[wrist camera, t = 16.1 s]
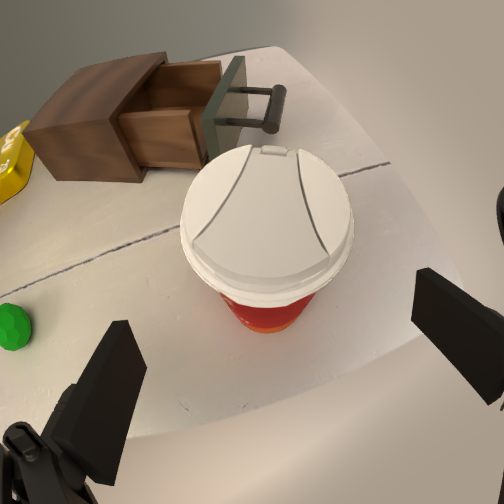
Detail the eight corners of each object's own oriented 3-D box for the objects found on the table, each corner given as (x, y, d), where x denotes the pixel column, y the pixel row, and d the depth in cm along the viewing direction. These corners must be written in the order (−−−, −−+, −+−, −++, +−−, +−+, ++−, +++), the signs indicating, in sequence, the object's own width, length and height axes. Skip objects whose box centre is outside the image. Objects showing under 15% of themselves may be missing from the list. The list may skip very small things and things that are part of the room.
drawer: (287, 111, 33) (289, 58, 26) (274, 184, 28) (275, 122, 21) (154, 107, 36) (139, 62, 29) (114, 173, 30) (86, 124, 23)
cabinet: (181, 109, 36) (165, 51, 27) (141, 183, 30) (108, 118, 22) (100, 115, 38) (78, 68, 29) (56, 180, 32) (20, 132, 23)
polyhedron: (44, 336, 23) (14, 324, 19) (21, 363, 22) (-9, 354, 17) (29, 302, 25) (1, 287, 20) (7, 328, 23) (-21, 316, 19)
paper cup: (229, 254, 26) (198, 132, 13) (316, 263, 25) (355, 145, 13) (213, 340, 23) (147, 281, 10) (308, 353, 22) (364, 308, 9)
